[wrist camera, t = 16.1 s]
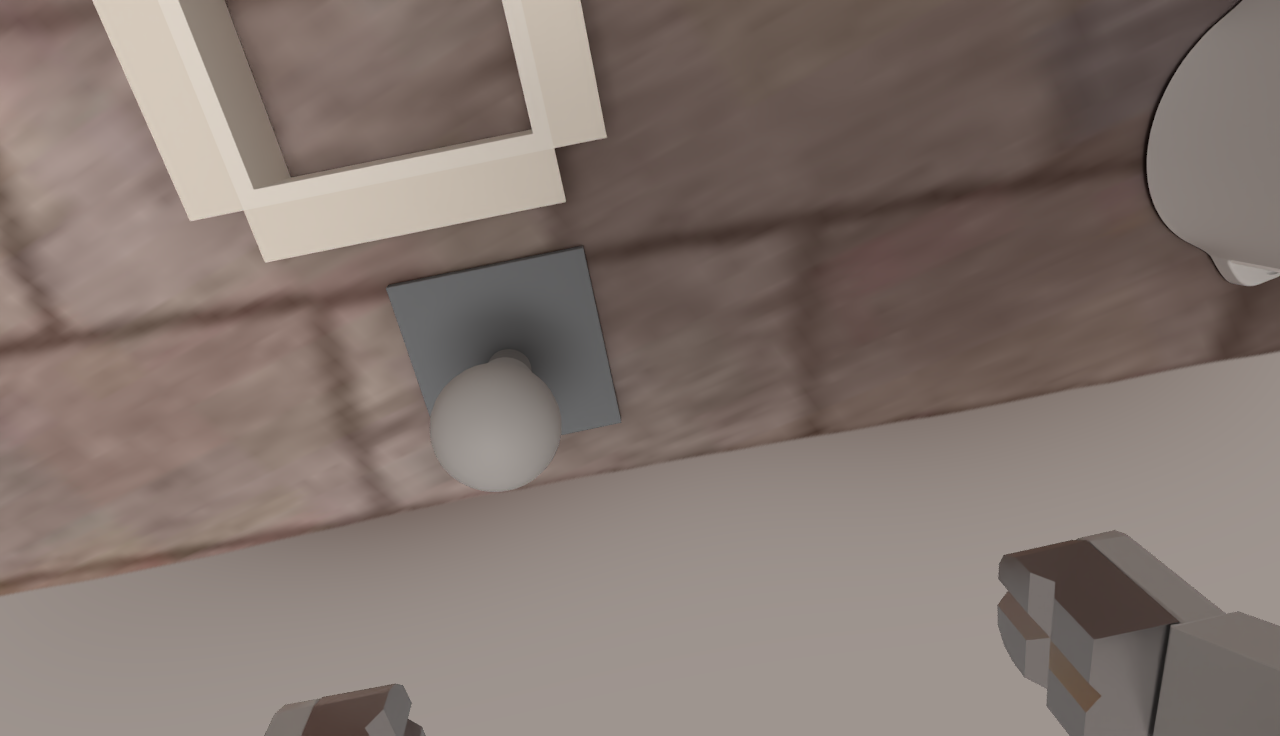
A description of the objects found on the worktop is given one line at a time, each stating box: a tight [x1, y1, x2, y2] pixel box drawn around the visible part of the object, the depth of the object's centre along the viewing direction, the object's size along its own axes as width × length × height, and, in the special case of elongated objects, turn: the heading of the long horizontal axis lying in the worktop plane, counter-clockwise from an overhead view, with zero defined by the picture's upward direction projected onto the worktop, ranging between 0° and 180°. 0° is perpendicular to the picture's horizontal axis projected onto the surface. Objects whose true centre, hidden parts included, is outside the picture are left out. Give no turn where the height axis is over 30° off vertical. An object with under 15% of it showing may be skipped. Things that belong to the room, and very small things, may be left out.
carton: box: [92, 0, 607, 263], centre depth 31 cm, size 20×20×4 cm
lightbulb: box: [430, 349, 561, 492], centre depth 35 cm, size 6×6×11 cm
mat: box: [386, 246, 621, 435], centre depth 40 cm, size 11×11×1 cm
